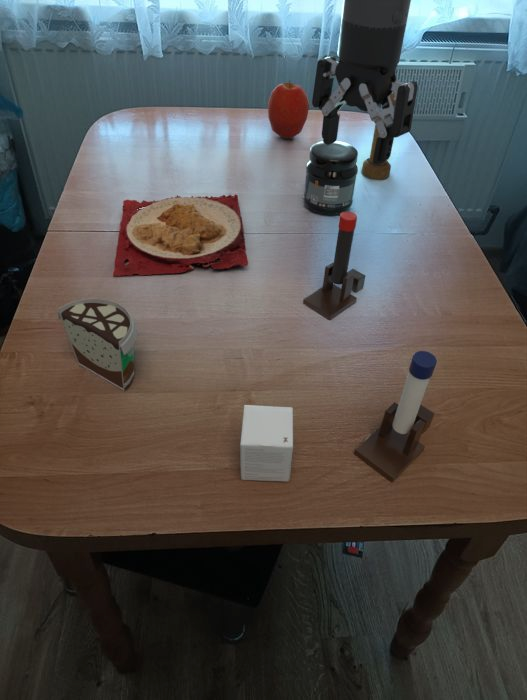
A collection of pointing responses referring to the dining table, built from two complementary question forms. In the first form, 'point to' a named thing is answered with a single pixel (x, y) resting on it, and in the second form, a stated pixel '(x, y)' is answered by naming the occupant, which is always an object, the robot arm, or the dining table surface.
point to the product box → (266, 443)
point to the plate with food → (180, 235)
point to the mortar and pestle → (368, 167)
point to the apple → (288, 110)
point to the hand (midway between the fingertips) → (353, 152)
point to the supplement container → (330, 178)
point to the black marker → (343, 246)
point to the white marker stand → (394, 444)
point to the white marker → (414, 390)
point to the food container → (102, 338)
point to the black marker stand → (335, 293)
